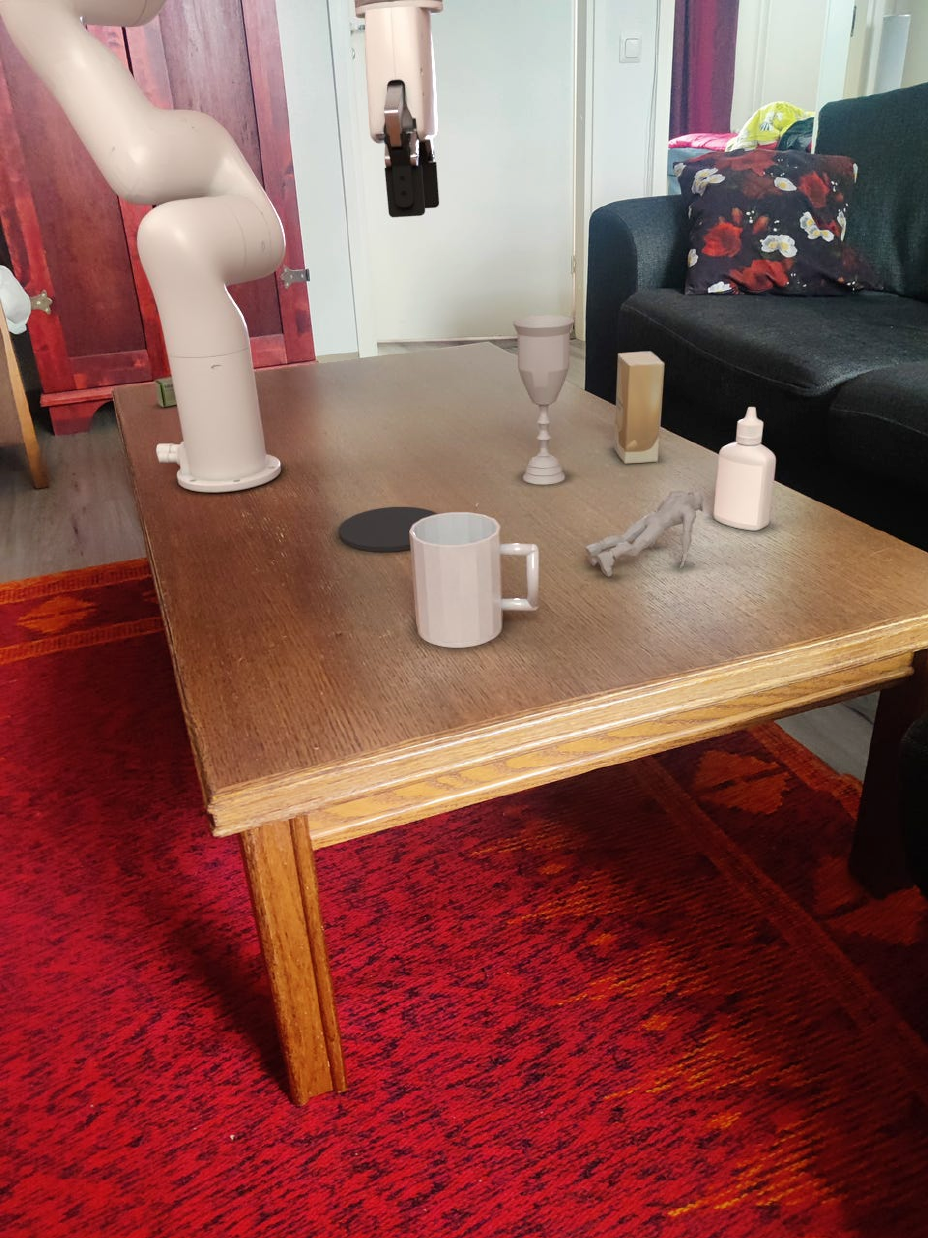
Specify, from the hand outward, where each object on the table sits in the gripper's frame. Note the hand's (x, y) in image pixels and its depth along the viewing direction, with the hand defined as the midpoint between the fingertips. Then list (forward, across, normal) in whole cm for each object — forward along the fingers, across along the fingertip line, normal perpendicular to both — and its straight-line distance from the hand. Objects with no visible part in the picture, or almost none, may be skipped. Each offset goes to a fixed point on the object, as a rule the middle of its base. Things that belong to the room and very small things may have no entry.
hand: (415, 211), depth 88 cm
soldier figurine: (+31, +11, +21) cm, 39 cm away
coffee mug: (+31, +24, +6) cm, 40 cm away
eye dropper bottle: (+32, +1, +31) cm, 44 cm away
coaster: (+31, +3, -5) cm, 31 cm away
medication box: (+29, -52, -46) cm, 76 cm away
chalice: (+31, -14, +11) cm, 35 cm away
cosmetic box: (+31, -21, +22) cm, 44 cm away
